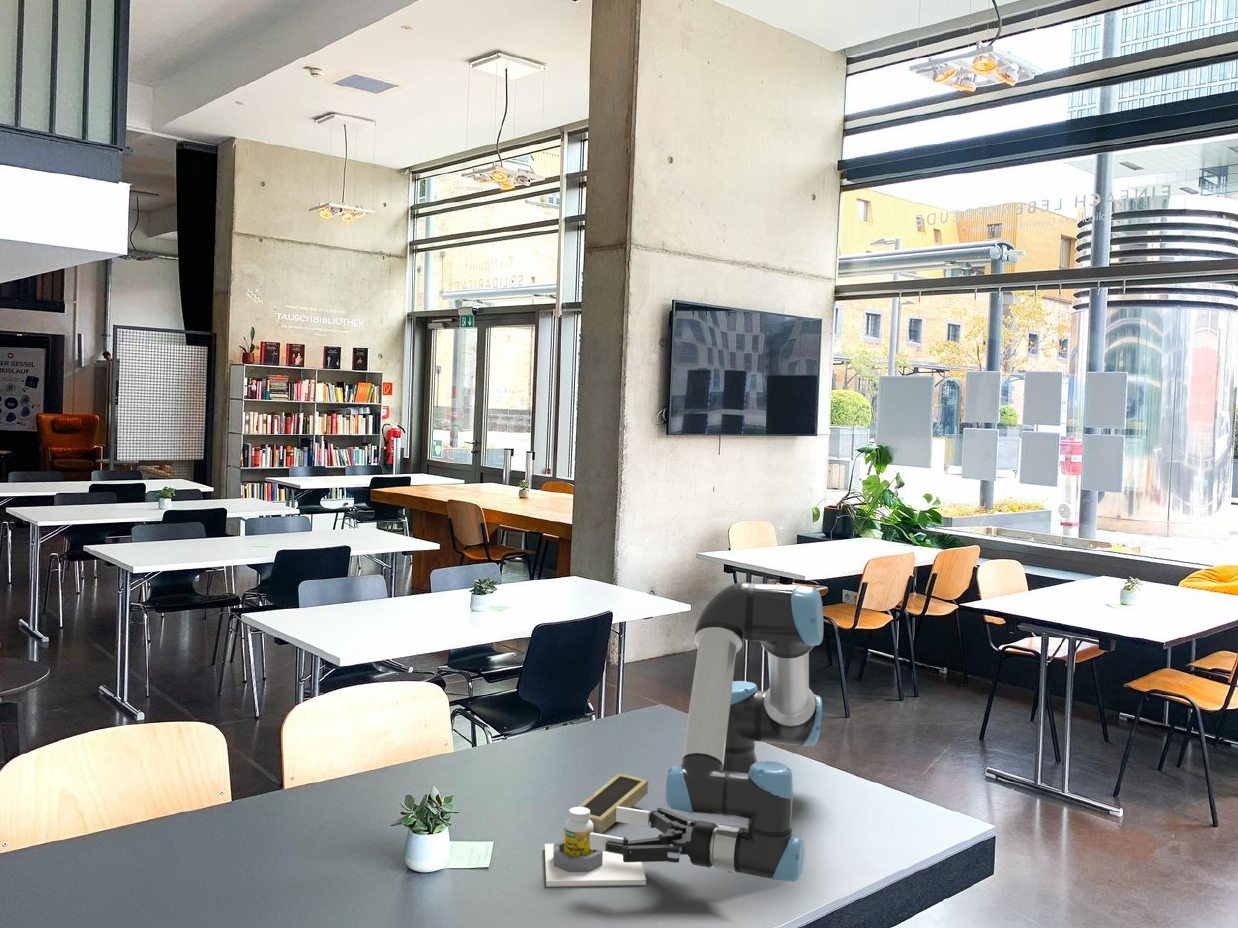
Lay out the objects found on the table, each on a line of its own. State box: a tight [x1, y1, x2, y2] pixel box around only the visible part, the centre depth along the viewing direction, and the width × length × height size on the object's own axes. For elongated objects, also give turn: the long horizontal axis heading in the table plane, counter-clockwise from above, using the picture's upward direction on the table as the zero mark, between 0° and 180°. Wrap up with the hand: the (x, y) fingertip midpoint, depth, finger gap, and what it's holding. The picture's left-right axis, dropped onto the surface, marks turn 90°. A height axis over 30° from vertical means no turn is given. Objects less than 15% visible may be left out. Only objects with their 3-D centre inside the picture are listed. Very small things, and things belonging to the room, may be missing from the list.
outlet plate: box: [544, 839, 647, 888], centre depth 185 cm, size 18×16×4 cm
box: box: [577, 772, 649, 834], centre depth 208 cm, size 8×22×5 cm, turn 148°
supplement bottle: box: [564, 806, 594, 856], centre depth 185 cm, size 5×5×10 cm
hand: (603, 826), depth 183 cm, fingers open, 13 cm apart
